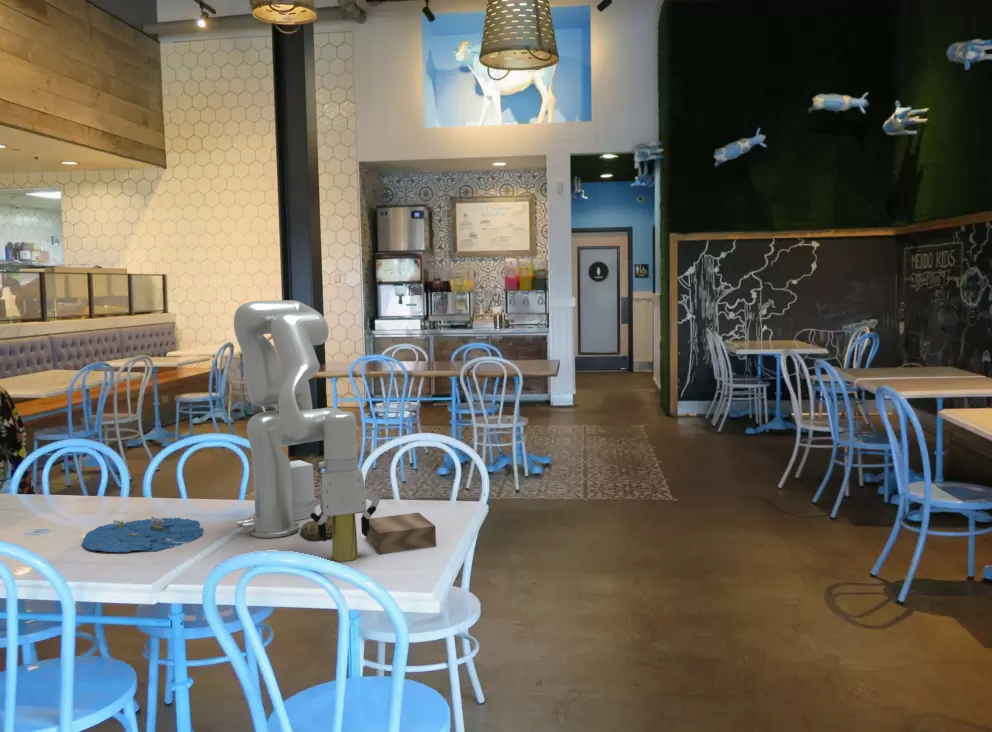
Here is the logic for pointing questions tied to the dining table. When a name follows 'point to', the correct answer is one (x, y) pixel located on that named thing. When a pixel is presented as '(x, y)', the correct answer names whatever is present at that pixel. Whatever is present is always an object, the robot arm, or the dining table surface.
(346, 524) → the vase
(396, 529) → the block
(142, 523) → the decorative plate
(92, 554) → the dining table surface
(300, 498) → the supplement box
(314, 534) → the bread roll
